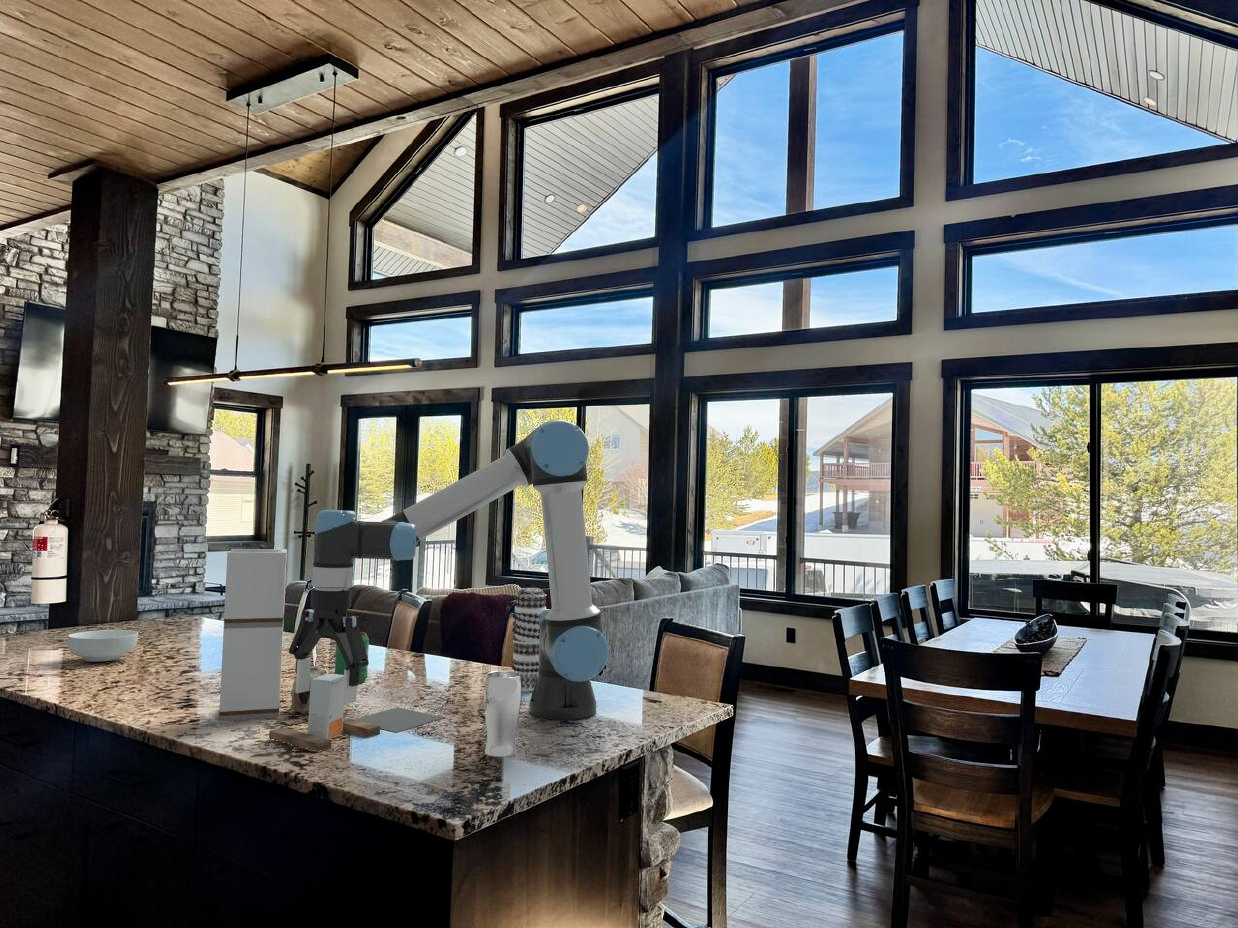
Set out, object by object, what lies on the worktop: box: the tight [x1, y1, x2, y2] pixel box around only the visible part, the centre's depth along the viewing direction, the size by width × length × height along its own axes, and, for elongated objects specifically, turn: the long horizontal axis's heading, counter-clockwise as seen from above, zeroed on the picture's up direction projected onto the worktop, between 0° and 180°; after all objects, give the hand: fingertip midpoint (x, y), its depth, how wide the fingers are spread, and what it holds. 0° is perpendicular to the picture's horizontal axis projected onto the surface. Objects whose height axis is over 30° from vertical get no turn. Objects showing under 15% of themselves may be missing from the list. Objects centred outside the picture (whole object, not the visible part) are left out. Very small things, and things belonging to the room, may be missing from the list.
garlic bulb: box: [289, 665, 328, 715], centre depth 179 cm, size 10×8×10 cm
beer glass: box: [483, 670, 522, 758], centre depth 154 cm, size 7×7×15 cm
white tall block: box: [218, 548, 288, 722], centre depth 178 cm, size 11×11×35 cm
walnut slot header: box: [268, 716, 381, 752], centre depth 161 cm, size 14×15×2 cm
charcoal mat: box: [353, 706, 446, 734], centre depth 174 cm, size 14×14×1 cm
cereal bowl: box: [66, 629, 139, 662], centre depth 229 cm, size 17×17×7 cm
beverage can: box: [334, 631, 370, 684], centre depth 211 cm, size 8×8×12 cm
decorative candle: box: [511, 587, 548, 692], centre depth 209 cm, size 9×9×25 cm
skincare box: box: [307, 673, 345, 740], centre depth 161 cm, size 6×4×12 cm
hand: (325, 697), depth 161 cm, fingers open, 13 cm apart
